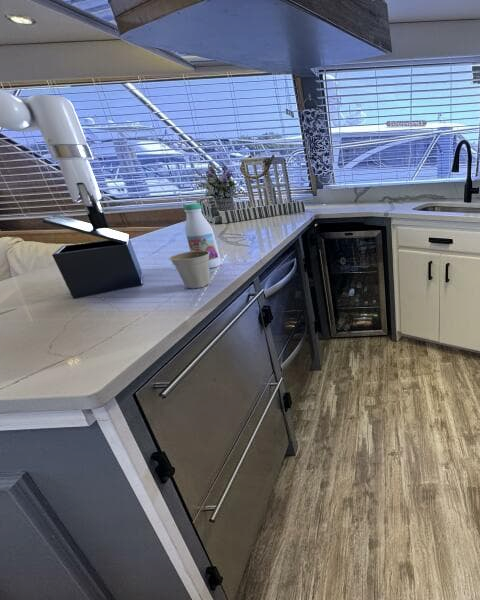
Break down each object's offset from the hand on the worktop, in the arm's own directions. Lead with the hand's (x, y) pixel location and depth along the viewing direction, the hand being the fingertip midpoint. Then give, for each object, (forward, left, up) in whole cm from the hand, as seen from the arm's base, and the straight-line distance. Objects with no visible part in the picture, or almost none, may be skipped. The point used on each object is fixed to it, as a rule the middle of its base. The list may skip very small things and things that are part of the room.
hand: (101, 228), depth 87 cm
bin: (-3, -1, -16) cm, 16 cm away
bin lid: (-2, -1, 0) cm, 2 cm away
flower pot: (+22, -10, -16) cm, 30 cm away
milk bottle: (+20, +10, -16) cm, 28 cm away
